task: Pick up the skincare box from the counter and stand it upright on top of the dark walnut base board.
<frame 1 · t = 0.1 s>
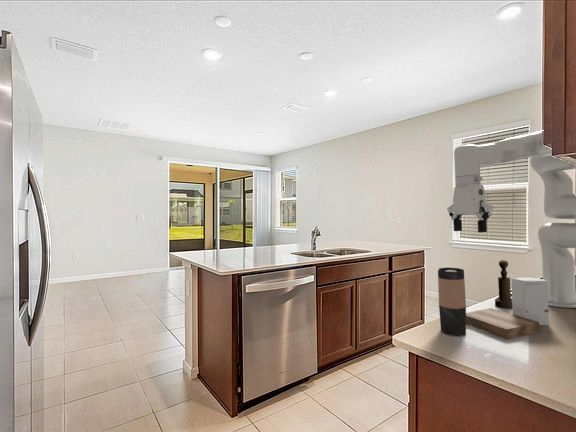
hand: (469, 231, 108), 31 cm above the countertop, fingers open, 9 cm apart
travel mug: (453, 332, 101), on the countertop
wooden pepper mill: (505, 306, 124), on the countertop
skincare box: (530, 323, 105), on the countertop
walnut base board: (498, 326, 103), on the countertop
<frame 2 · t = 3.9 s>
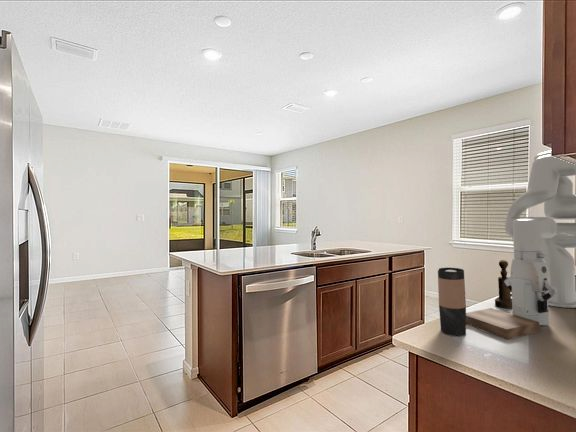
hand: (529, 308, 105), 5 cm above the countertop, fingers closed on skincare box, 7 cm apart
skincare box: (530, 323, 105), on the countertop, touching gripper
everything else where it was.
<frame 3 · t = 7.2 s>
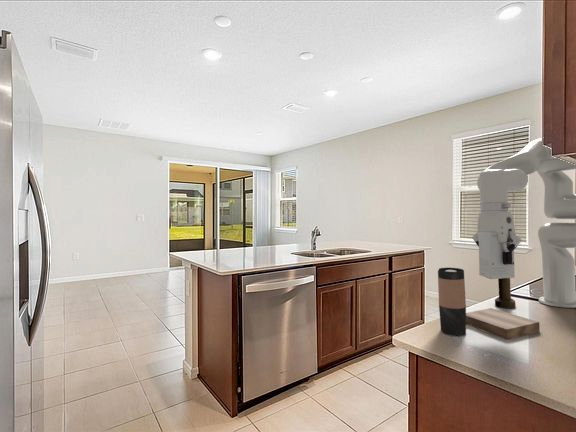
hand: (496, 262, 103), 21 cm above the countertop, fingers closed on skincare box, 6 cm apart
skincare box: (496, 277, 103), point 16 cm above the countertop, touching gripper
everything else where it was.
when the fingers open (9 cm above the countertop, at t = 10.4 s): skincare box drops 1 cm, resting on walnut base board.
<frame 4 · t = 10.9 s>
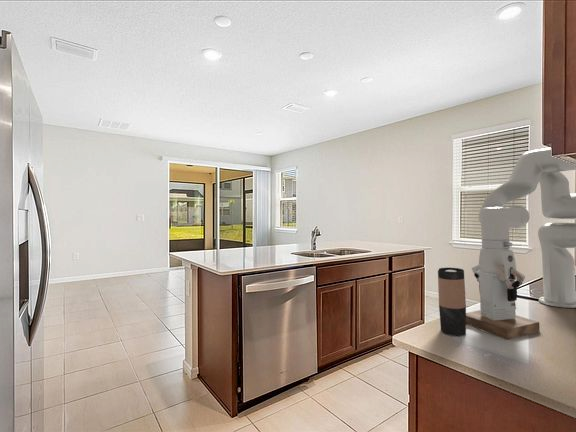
hand: (497, 297, 103), 10 cm above the countertop, fingers open, 9 cm apart
skincare box: (497, 317, 104), point 3 cm above the countertop, touching walnut base board
everything else where it was.
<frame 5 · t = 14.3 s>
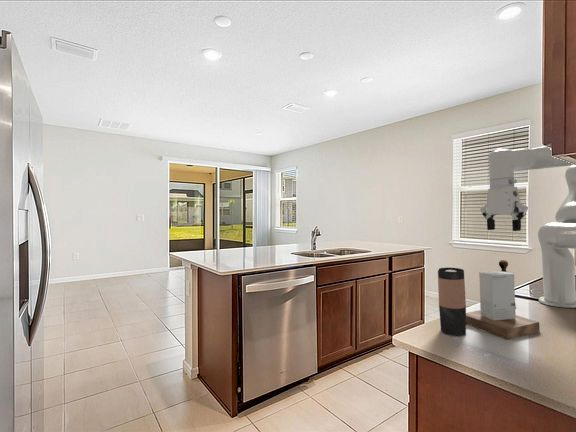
hand: (503, 230, 117), 30 cm above the countertop, fingers open, 9 cm apart
nothing on the countertop moved.
at the end: skincare box inside the target area on the walnut base board (0.4 cm from its centre), point 2.8 cm above the walnut base board's base; skincare box tilted 0°; the gripper is holding nothing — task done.
